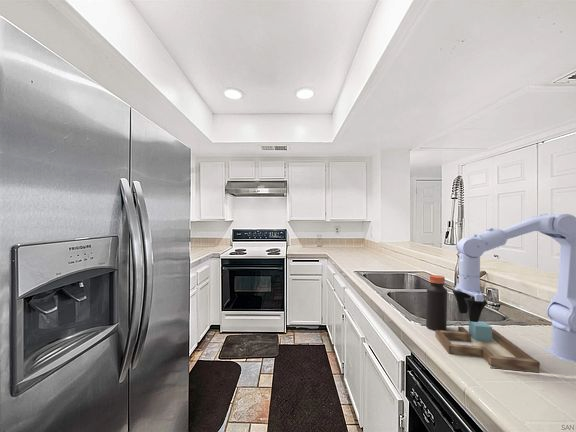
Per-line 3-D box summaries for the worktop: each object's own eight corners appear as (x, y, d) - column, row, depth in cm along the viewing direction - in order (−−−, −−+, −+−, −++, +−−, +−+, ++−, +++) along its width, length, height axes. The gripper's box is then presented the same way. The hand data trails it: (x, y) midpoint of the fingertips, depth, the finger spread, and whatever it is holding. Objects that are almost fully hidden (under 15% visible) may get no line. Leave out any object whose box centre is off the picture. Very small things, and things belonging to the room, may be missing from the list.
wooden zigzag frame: (494, 337, 100) (494, 329, 100) (539, 373, 77) (539, 362, 77) (430, 332, 103) (430, 324, 103) (456, 365, 81) (456, 354, 81)
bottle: (448, 329, 106) (449, 276, 106) (443, 334, 101) (444, 279, 101) (429, 324, 111) (430, 273, 111) (423, 329, 106) (424, 276, 106)
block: (484, 335, 100) (484, 321, 100) (491, 342, 95) (492, 327, 95) (468, 334, 101) (469, 320, 100) (475, 340, 96) (475, 326, 96)
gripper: (447, 270, 99) (446, 308, 99) (465, 279, 85) (464, 324, 85) (469, 271, 98) (468, 310, 98) (491, 280, 84) (490, 326, 84)
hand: (468, 317), depth 91 cm, fingers open, 7 cm apart
